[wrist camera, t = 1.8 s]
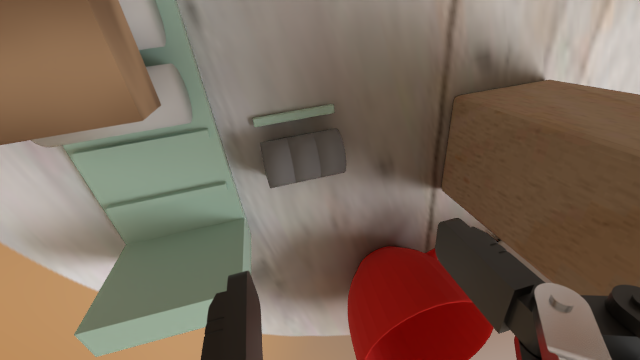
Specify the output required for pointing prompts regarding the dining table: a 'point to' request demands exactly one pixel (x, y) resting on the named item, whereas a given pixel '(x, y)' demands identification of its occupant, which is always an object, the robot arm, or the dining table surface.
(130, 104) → the walnut slab
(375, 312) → the ceramic cup
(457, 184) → the wooden block
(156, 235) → the roller track
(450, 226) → the robot arm
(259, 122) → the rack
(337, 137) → the roller
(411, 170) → the dining table surface
